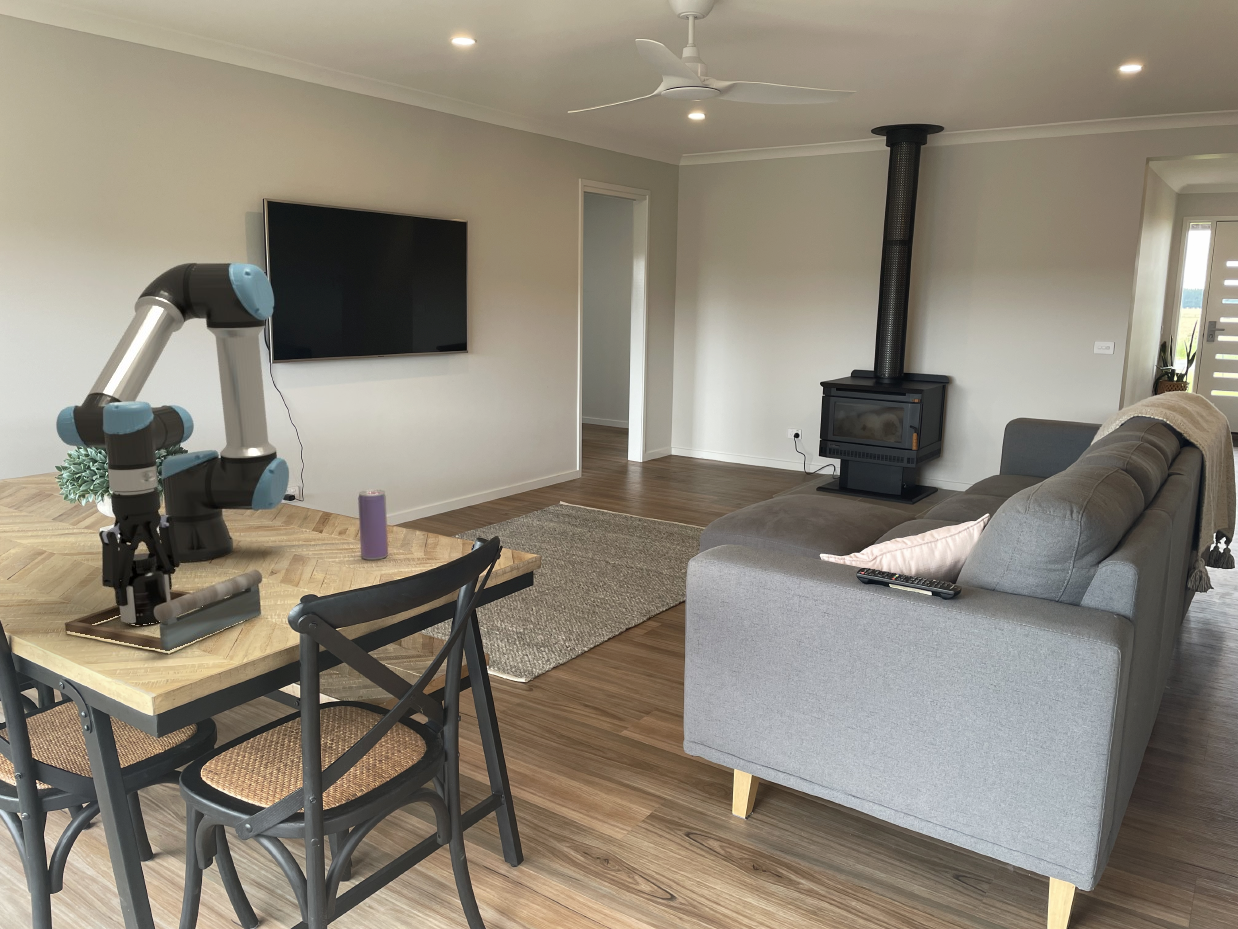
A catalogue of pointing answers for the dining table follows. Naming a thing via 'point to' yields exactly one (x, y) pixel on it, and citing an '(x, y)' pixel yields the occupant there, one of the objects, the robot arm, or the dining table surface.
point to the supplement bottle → (147, 587)
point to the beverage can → (373, 524)
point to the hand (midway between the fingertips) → (146, 614)
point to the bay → (189, 625)
